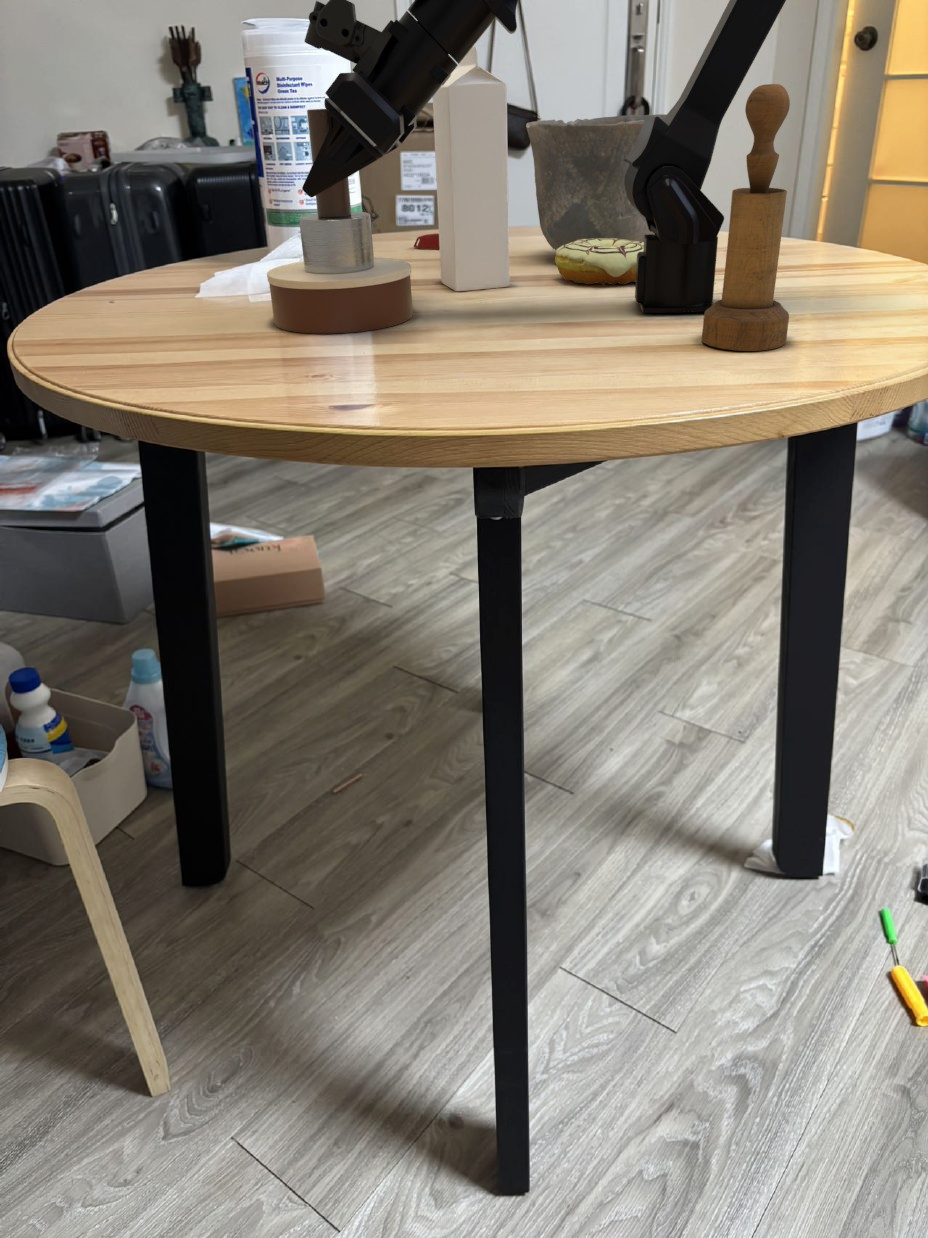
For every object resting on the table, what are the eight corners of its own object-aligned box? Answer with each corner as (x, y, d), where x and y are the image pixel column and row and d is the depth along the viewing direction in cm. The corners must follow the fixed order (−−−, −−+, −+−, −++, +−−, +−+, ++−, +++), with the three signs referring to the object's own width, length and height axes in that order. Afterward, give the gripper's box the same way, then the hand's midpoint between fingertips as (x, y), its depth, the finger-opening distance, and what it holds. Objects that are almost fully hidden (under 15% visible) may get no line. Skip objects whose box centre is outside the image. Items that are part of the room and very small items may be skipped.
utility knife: (498, 248, 126) (497, 232, 125) (495, 250, 125) (495, 233, 125) (415, 247, 130) (414, 231, 129) (412, 248, 129) (411, 232, 128)
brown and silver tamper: (388, 266, 89) (376, 106, 82) (332, 276, 85) (315, 109, 79) (346, 260, 93) (332, 107, 87) (291, 269, 89) (272, 110, 83)
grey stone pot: (550, 245, 127) (551, 117, 120) (685, 246, 122) (695, 112, 115) (510, 267, 113) (508, 123, 105) (662, 270, 107) (670, 118, 100)
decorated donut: (628, 290, 98) (630, 251, 96) (537, 283, 103) (537, 245, 101) (671, 273, 105) (674, 236, 103) (584, 267, 111) (585, 232, 109)
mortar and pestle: (774, 354, 73) (806, 83, 64) (690, 347, 76) (710, 86, 67) (794, 335, 78) (826, 81, 69) (715, 329, 81) (736, 84, 72)
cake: (422, 303, 96) (419, 255, 94) (402, 332, 85) (398, 279, 82) (293, 305, 97) (287, 258, 95) (256, 335, 86) (248, 282, 84)
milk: (455, 292, 101) (444, 47, 90) (440, 283, 106) (428, 49, 95) (511, 286, 102) (506, 44, 91) (493, 277, 107) (487, 47, 96)
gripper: (371, -30, 86) (265, 116, 91) (341, -57, 69) (214, 122, 75) (463, 68, 89) (355, 203, 95) (456, 64, 73) (326, 227, 78)
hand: (315, 188), depth 86 cm, fingers open, 9 cm apart
